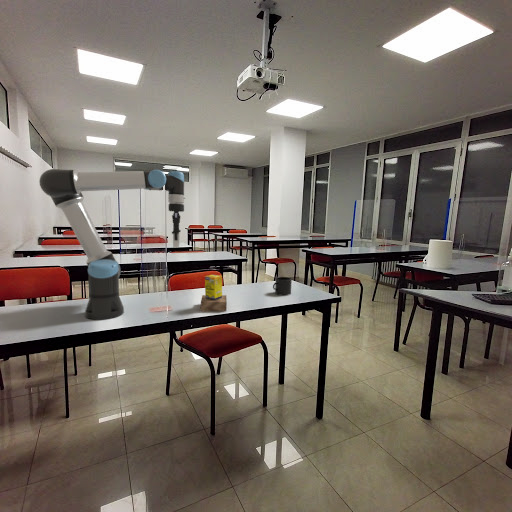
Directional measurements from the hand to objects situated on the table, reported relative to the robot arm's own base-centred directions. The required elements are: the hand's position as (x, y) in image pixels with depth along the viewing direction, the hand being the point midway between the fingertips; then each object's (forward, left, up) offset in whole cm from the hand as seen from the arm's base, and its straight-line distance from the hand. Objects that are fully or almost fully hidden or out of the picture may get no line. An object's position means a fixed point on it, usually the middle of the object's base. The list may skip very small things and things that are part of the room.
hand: (176, 245), depth 153 cm
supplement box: (+18, -14, -24) cm, 33 cm away
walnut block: (+18, -14, -29) cm, 37 cm away
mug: (+60, +8, -29) cm, 67 cm away
